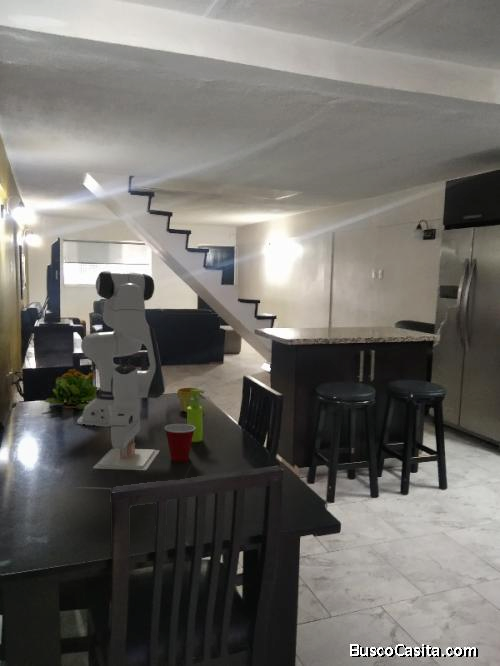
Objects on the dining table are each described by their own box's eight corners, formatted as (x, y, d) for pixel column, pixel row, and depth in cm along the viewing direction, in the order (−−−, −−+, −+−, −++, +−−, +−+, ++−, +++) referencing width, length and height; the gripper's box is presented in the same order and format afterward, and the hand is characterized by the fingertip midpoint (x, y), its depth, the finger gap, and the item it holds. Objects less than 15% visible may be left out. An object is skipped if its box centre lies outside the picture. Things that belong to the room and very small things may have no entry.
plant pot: (194, 406, 242) (194, 386, 241) (203, 411, 233) (203, 390, 232) (174, 408, 237) (174, 388, 236) (182, 414, 228) (182, 393, 227)
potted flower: (48, 416, 224) (46, 378, 221) (39, 404, 244) (37, 368, 241) (104, 408, 237) (103, 372, 235) (91, 397, 257) (90, 363, 254)
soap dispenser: (202, 443, 190) (202, 392, 188) (185, 442, 192) (184, 391, 189) (207, 438, 196) (206, 388, 193) (190, 437, 197) (189, 387, 195)
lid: (98, 466, 166) (97, 451, 166) (113, 450, 181) (113, 436, 181) (142, 468, 165) (142, 452, 165) (154, 451, 180) (154, 437, 180)
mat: (92, 469, 165) (92, 468, 165) (111, 450, 183) (111, 448, 183) (146, 471, 164) (146, 470, 164) (159, 451, 182) (159, 450, 182)
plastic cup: (201, 457, 177) (201, 424, 175) (185, 468, 167) (184, 433, 165) (175, 452, 181) (175, 420, 180) (158, 462, 172) (157, 428, 170)
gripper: (127, 404, 182) (128, 441, 184) (107, 421, 162) (108, 462, 163) (144, 405, 181) (144, 442, 183) (126, 422, 161) (127, 463, 163)
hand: (127, 452), depth 173 cm, fingers closed on lid, 4 cm apart
